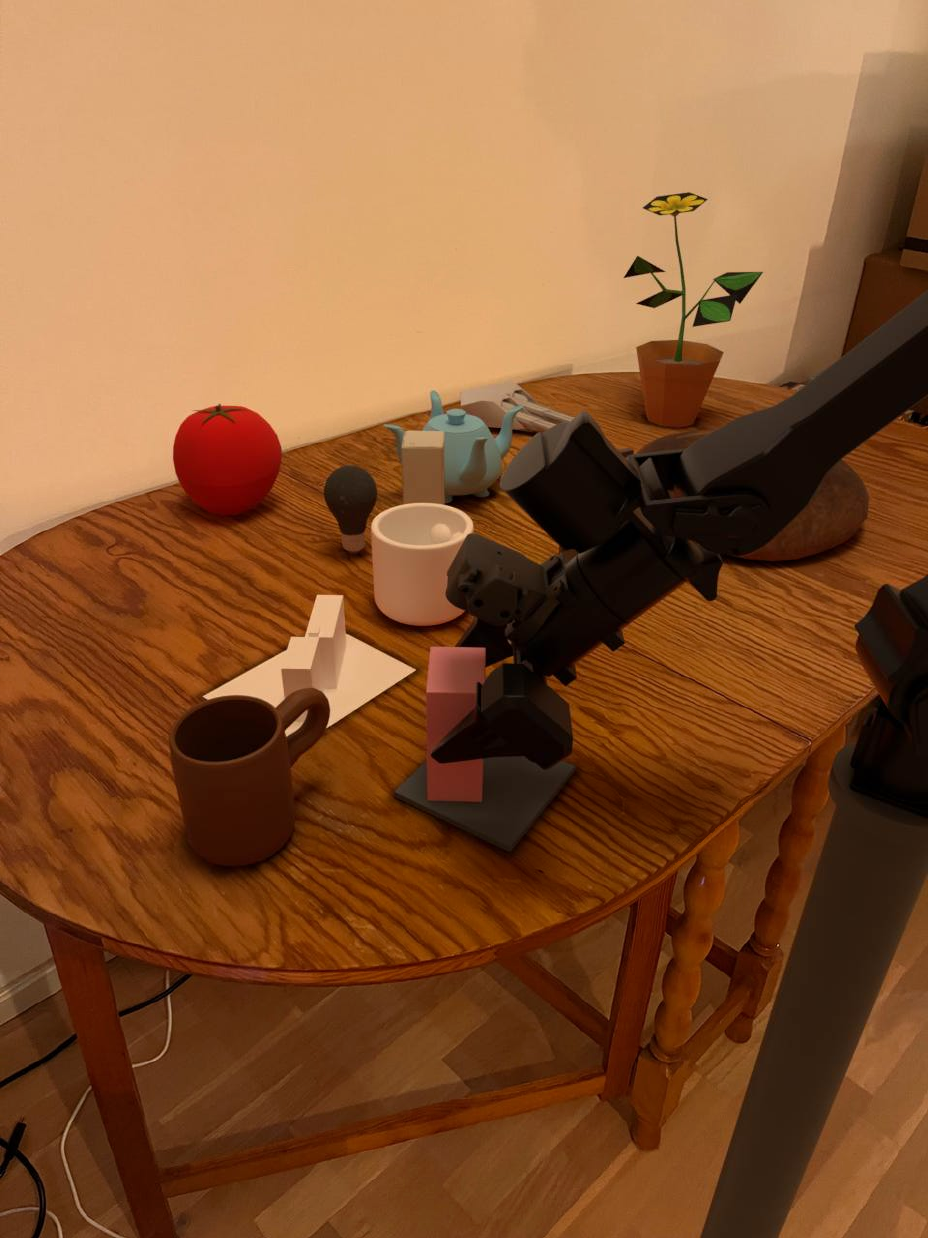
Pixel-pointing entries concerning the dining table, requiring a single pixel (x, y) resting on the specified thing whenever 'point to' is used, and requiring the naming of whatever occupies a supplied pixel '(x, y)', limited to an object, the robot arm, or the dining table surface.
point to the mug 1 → (242, 772)
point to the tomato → (226, 458)
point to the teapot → (466, 448)
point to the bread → (818, 525)
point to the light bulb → (351, 503)
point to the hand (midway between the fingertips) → (438, 716)
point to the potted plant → (679, 366)
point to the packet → (452, 719)
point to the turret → (509, 407)
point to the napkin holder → (321, 667)
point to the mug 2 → (416, 561)
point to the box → (423, 467)
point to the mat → (494, 798)
